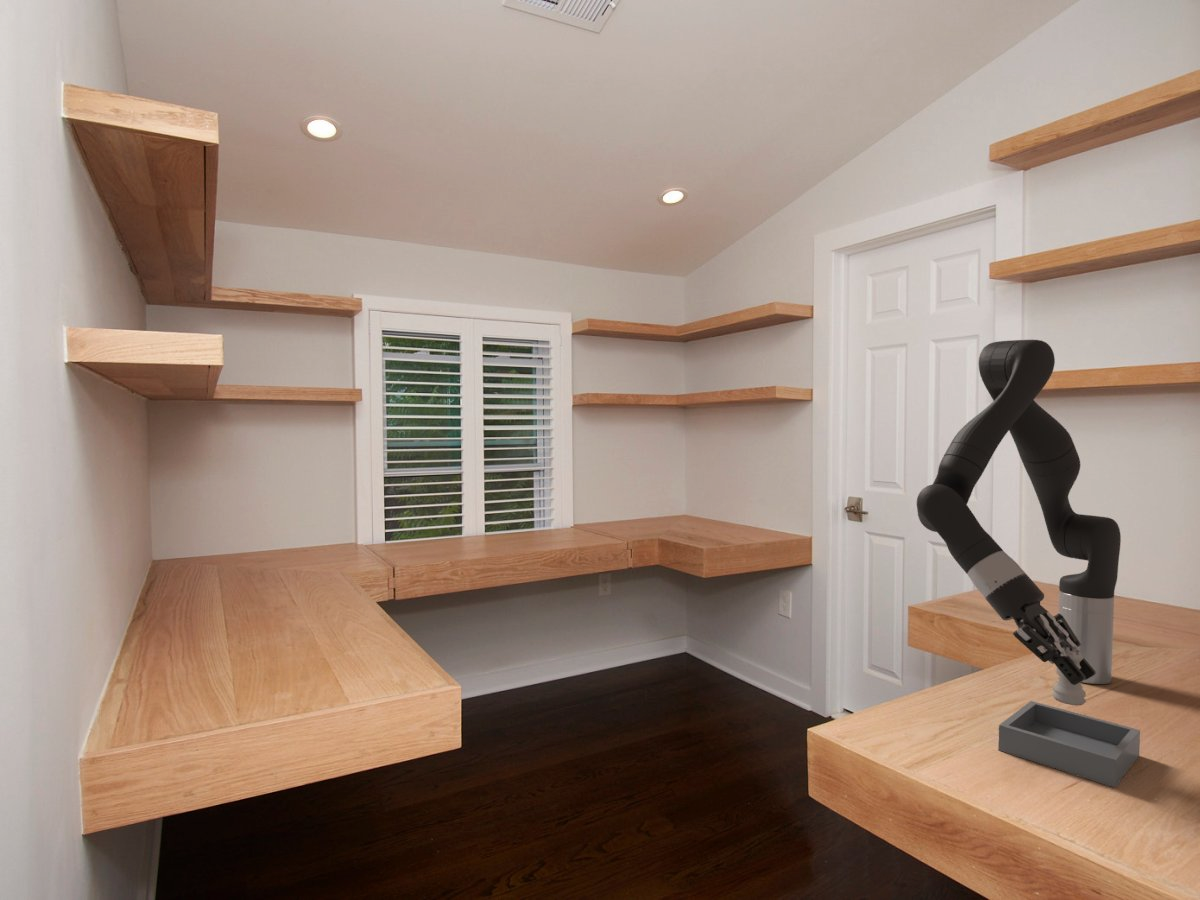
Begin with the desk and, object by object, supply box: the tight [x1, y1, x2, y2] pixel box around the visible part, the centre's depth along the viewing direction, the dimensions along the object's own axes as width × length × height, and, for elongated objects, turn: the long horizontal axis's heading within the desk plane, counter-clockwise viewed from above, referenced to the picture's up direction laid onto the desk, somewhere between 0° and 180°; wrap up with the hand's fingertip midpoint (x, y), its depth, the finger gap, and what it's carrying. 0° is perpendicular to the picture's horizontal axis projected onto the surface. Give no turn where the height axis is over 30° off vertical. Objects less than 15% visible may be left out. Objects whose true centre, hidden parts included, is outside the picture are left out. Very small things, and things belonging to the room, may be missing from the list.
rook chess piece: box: [1051, 647, 1087, 706], centre depth 107 cm, size 4×4×8 cm
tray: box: [998, 700, 1141, 789], centre depth 108 cm, size 15×15×4 cm
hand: (1084, 679), depth 106 cm, fingers closed on rook chess piece, 3 cm apart
